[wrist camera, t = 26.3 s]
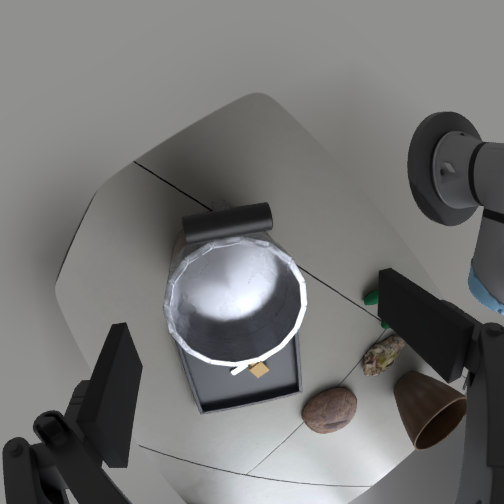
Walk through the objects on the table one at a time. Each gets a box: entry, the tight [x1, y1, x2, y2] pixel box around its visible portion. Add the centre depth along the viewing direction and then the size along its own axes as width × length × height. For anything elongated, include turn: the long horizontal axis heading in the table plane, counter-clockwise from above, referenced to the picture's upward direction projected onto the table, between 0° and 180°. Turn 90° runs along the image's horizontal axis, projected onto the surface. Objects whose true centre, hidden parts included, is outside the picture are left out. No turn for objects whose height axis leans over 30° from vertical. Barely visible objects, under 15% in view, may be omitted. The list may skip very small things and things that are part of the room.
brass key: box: [249, 361, 270, 378], centre depth 50 cm, size 7×3×1 cm, turn 37°
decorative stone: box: [302, 388, 357, 434], centre depth 57 cm, size 12×12×6 cm
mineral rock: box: [363, 335, 406, 377], centre depth 56 cm, size 11×4×8 cm
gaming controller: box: [363, 289, 390, 329], centre depth 52 cm, size 9×4×6 cm
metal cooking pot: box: [163, 200, 307, 367], centre depth 30 cm, size 18×14×13 cm
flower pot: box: [394, 372, 467, 450], centre depth 55 cm, size 15×15×16 cm
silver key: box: [230, 358, 267, 375], centre depth 51 cm, size 7×3×1 cm, turn 126°
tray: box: [175, 331, 302, 414], centre depth 51 cm, size 17×19×2 cm
